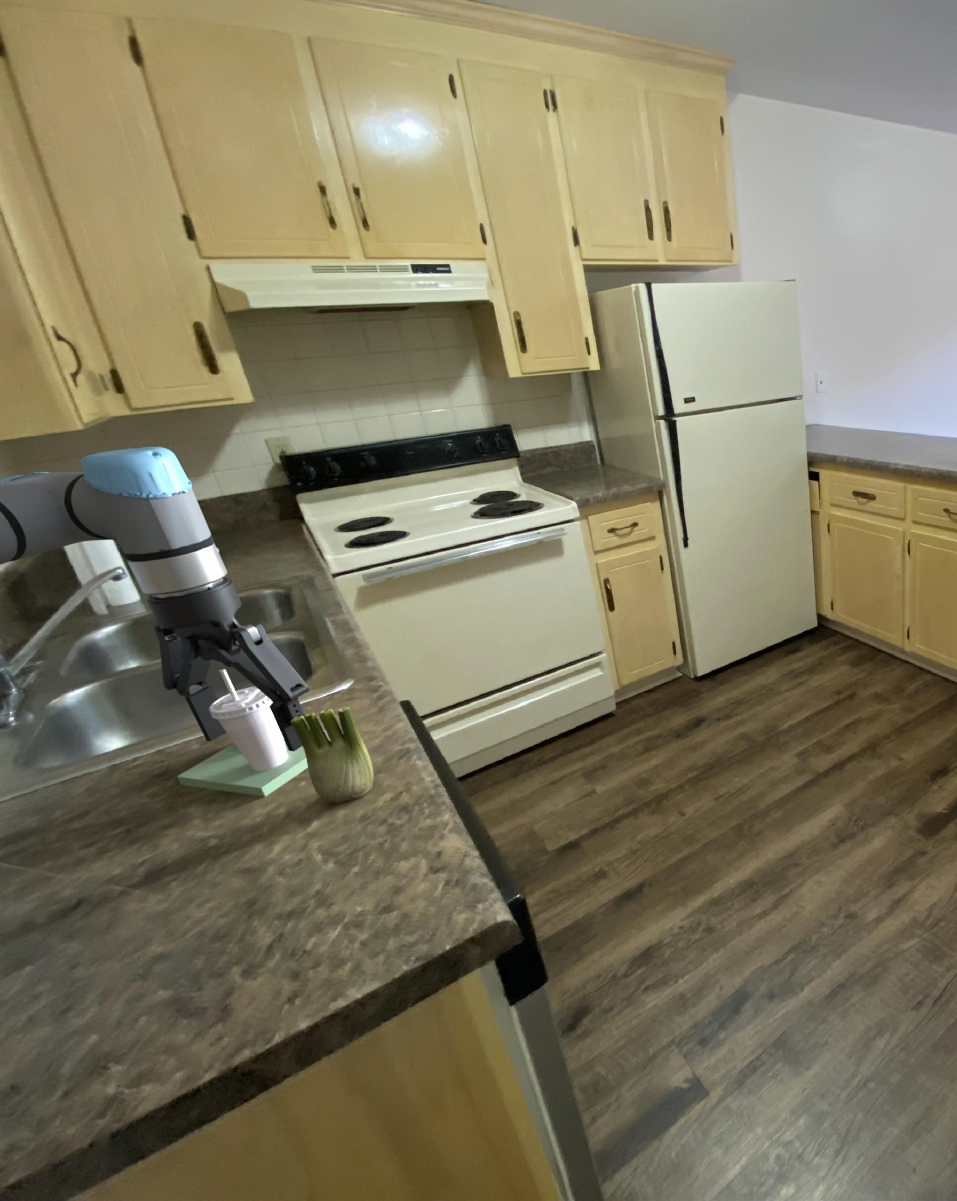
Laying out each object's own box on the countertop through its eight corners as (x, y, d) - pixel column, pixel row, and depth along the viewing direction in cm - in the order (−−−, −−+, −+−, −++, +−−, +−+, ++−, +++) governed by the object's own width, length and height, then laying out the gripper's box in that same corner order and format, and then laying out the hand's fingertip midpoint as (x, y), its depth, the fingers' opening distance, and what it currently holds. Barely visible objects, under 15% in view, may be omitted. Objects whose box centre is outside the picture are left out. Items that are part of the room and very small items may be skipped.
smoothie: (227, 775, 83) (178, 679, 77) (275, 745, 88) (233, 653, 83) (266, 780, 81) (219, 683, 76) (312, 749, 87) (272, 656, 81)
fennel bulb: (386, 783, 81) (354, 700, 77) (358, 810, 77) (322, 724, 72) (343, 782, 82) (309, 701, 77) (313, 809, 77) (275, 724, 73)
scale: (179, 785, 84) (169, 766, 82) (274, 728, 95) (266, 711, 94) (265, 797, 80) (255, 777, 79) (353, 737, 92) (345, 719, 90)
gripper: (303, 577, 75) (363, 731, 84) (146, 571, 81) (216, 715, 90) (238, 603, 69) (310, 768, 77) (72, 594, 75) (155, 748, 83)
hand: (260, 740), depth 83 cm, fingers open, 13 cm apart
